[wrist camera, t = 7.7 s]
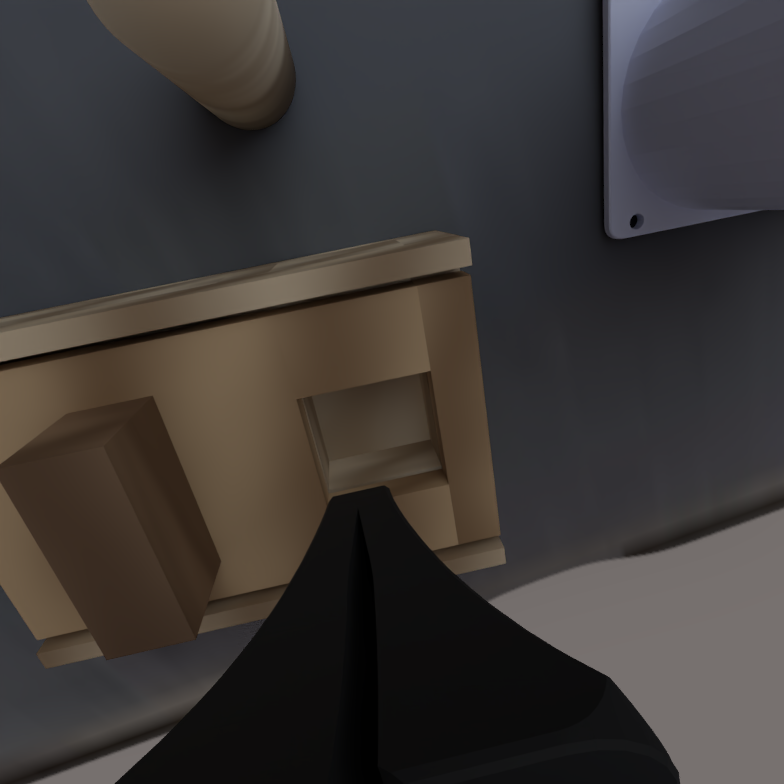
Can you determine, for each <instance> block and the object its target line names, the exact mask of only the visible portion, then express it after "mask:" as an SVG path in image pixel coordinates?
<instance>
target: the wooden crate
mask: <svg viewBox="0 0 784 784" xmlns="http://www.w3.org/2000/svg"><path fill="white" fill-rule="evenodd" d="M471 265H472V259H471V250H470V241H469V238H467V237H463V236H458V235H454V234H449V233H445V232H440V231H436V230H434V231H429V232H424V233H419V234H414V235H409V236H404V237H399V238H394V239H389V240H384V241H379V242H374V243H369V244H365V245H360V246H355V247H350V248H345V249H340V250H335V251H330V252H325V253H320V254H315V255H310V256H305V257H300V258H295V259H290V260H285V261H280V262H275V263H270V264H265V265H260V266H255V267H250V268H245V269H240V270H235V271H230V272H225V273H220V274H215V275H210V276H206V277H201V278H196V279H191V280H186V281H181V282H176V283H171V284H166V285H161V286H156V287H151V288H146V289H141V290H136V291H131V292H126V293H121V294H116V295H111V296H106V297H101V298H96V299H91V300H86V301H81V302H76V303H71V304H66V305H61V306H56V307H51V308H47V309H42V310H37V311H32V312H27V313H22V314H17V315H12V316H7V317H2V318H0V365H3V364H8V363H12V362H17V361H22V360H27V359H32V358H37V357H42V356H47V355H51V354H56V353H61V352H66V351H71V350H76V349H81V348H86V347H91V346H95V345H100V344H105V343H110V342H115V341H120V340H125V339H130V338H134V337H139V336H144V335H149V334H154V333H159V332H164V331H169V330H173V329H178V328H183V327H188V326H193V325H198V324H203V323H208V322H213V321H217V320H222V319H227V318H232V317H237V316H242V315H247V314H252V313H256V312H261V311H266V310H271V309H276V308H281V307H286V306H291V305H296V304H300V303H305V302H310V301H315V300H320V299H325V298H330V297H335V296H339V295H344V294H349V293H354V292H359V291H364V290H369V289H374V288H378V287H383V286H388V285H393V284H398V283H403V282H408V281H413V280H418V279H422V278H427V277H432V276H437V275H442V274H447V273H452V272H457V271H460V268H461V267H466V266H471ZM302 401H303V404H304V408H305V411H306V415H307V418H308V422H309V426H310V429H311V433H312V436H313V440H314V443H315V447H316V451H317V454H318V458H319V461H320V465H321V468H322V472H323V475H324V479H325V483H326V486H327V490H328V493H334V492H338V491H343V490H348V489H352V488H357V487H361V486H366V485H370V484H375V483H379V482H384V481H388V480H393V479H397V478H402V477H407V476H411V475H416V474H420V473H425V472H429V471H434V470H438V469H442V463H441V457H440V451H439V445H438V439H437V433H436V427H435V421H434V414H433V408H432V402H431V396H430V390H429V384H428V378H427V372H423V373H418V374H413V375H409V376H404V377H399V378H394V379H390V380H385V381H380V382H376V383H371V384H366V385H361V386H357V387H352V388H347V389H343V390H338V391H333V392H329V393H324V394H319V395H314V396H310V397H305V398H302ZM433 552H434V553H435V555H436V556H437V557H438V558H439V559H440V560H441V561H442V562H443V563H444V564H445V565H446V566H447V567H448V568H449V569H450V570H451V571H452V572H453V573H454V574H455V575H457V574H462V573H466V572H470V571H475V570H479V569H483V568H488V567H492V566H496V565H501V564H505V563H506V559H505V550H504V546H503V544H502V542H501V540H500V538H499V536H494V537H490V538H486V539H481V540H477V541H472V542H468V543H463V544H459V545H455V546H450V547H446V548H441V549H437V550H433ZM288 584H289V583H287V584H283V585H278V586H274V587H269V588H265V589H261V590H256V591H252V592H247V593H243V594H239V595H234V596H230V597H225V598H221V599H217V600H212V601H208V604H207V607H206V610H205V613H204V616H203V619H202V622H201V626H200V629H199V632H198V634H200V633H204V632H208V631H213V630H217V629H221V628H226V627H230V626H235V625H239V624H243V623H248V622H252V621H256V620H261V619H265V618H267V617H268V616H269V615H270V613H271V612H272V610H273V609H274V607H275V606H276V604H277V602H278V601H279V599H280V598H281V596H282V595H283V593H284V591H285V590H286V588H287V586H288ZM36 655H37V656H38V658H39V659H40V661H41V662H42V664H43V665H44V667H45V668H46V669H47V668H51V667H56V666H60V665H64V664H69V663H73V662H77V661H82V660H86V659H91V658H95V657H99V656H104V655H103V653H102V652H101V650H100V648H99V647H98V645H97V643H96V642H95V640H94V638H93V637H92V635H91V633H90V632H89V630H88V629H84V630H80V631H75V632H71V633H67V634H62V635H58V636H53V637H49V638H47V639H46V640H45V642H44V643H43V645H42V646H41V648H40V649H39V651H38V652H37V654H36Z"/></svg>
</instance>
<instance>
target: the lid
mask: <svg viewBox="0 0 784 784" xmlns="http://www.w3.org/2000/svg"><path fill="white" fill-rule="evenodd" d="M423 372H427V378H428V384H429V390H430V396H431V402H432V408H433V414H434V421H435V427H436V433H437V439H438V445H439V451H440V457H441V463H442V469H438V470H434V471H429V472H425V473H420V474H416V475H411V476H407V477H402V478H397V479H393V480H388V481H384V482H379V483H375V484H370V485H366V486H361V487H357V488H352V489H348V490H343V491H338V492H334V493H328V490H327V486H326V483H325V479H324V475H323V472H322V468H321V465H320V461H319V458H318V454H317V451H316V447H315V443H314V440H313V436H312V433H311V429H310V426H309V422H308V418H307V415H306V411H305V408H304V404H303V401H302V398H305V397H310V396H314V395H319V394H324V393H329V392H333V391H338V390H343V389H347V388H352V387H357V386H361V385H366V384H371V383H376V382H380V381H385V380H390V379H394V378H399V377H404V376H409V375H413V374H418V373H423ZM383 485H385V486H386V487H388V488H390V492H391V494H392V496H393V499H394V500H395V502H396V504H397V506H398V507H399V509H400V511H401V512H402V514H403V515H404V517H405V518H406V519H407V521H408V522H409V524H410V525H411V526H412V527H413V529H414V530H415V531H416V532H417V534H418V535H419V536H420V538H421V539H422V540H423V541H424V542H425V543H426V545H427V546H428V547H429V548H430V549H431V550H432V551H433V550H437V549H441V548H446V547H450V546H455V545H459V544H463V543H468V542H472V541H477V540H481V539H486V538H490V537H494V536H499V535H500V526H499V517H498V509H497V500H496V491H495V483H494V474H493V465H492V457H491V448H490V439H489V431H488V422H487V413H486V405H485V396H484V387H483V379H482V370H481V361H480V353H479V344H478V335H477V327H476V318H475V309H474V301H473V292H472V283H471V275H469V274H467V273H465V272H463V271H457V272H452V273H447V274H442V275H437V276H432V277H427V278H422V279H418V280H413V281H408V282H403V283H398V284H393V285H388V286H383V287H378V288H374V289H369V290H364V291H359V292H354V293H349V294H344V295H339V296H335V297H330V298H325V299H320V300H315V301H310V302H305V303H300V304H296V305H291V306H286V307H281V308H276V309H271V310H266V311H261V312H256V313H252V314H247V315H242V316H237V317H232V318H227V319H222V320H217V321H213V322H208V323H203V324H198V325H193V326H188V327H183V328H178V329H173V330H169V331H164V332H159V333H154V334H149V335H144V336H139V337H134V338H130V339H125V340H120V341H115V342H110V343H105V344H100V345H95V346H91V347H86V348H81V349H76V350H71V351H66V352H61V353H56V354H51V355H47V356H42V357H37V358H32V359H27V360H22V361H17V362H12V363H8V364H3V365H0V585H1V586H2V588H3V589H4V591H5V592H6V594H7V595H8V597H9V598H10V600H11V601H12V603H13V604H14V606H15V607H16V609H17V610H18V612H19V613H20V615H21V616H22V618H23V619H24V621H25V623H26V624H27V626H28V627H29V629H30V630H31V632H32V633H33V635H34V636H35V638H36V639H37V640H40V639H45V638H49V637H53V636H58V635H62V634H67V633H71V632H75V631H80V630H84V629H88V630H89V632H90V633H91V635H92V637H93V638H94V640H95V642H96V643H97V645H98V647H99V648H100V650H101V652H102V653H103V655H104V657H105V658H106V660H109V659H113V658H118V657H122V656H126V655H131V654H135V653H140V652H144V651H148V650H153V649H157V648H161V647H166V646H170V645H174V644H179V643H183V642H187V641H192V640H196V638H197V635H198V632H199V629H200V626H201V622H202V619H203V616H204V613H205V610H206V607H207V604H208V601H212V600H217V599H221V598H225V597H230V596H234V595H239V594H243V593H247V592H252V591H256V590H261V589H265V588H269V587H274V586H278V585H283V584H287V583H290V581H291V579H292V577H293V576H294V574H295V572H296V571H297V569H298V567H299V565H300V564H301V562H302V560H303V558H304V556H305V554H306V552H307V550H308V548H309V546H310V544H311V542H312V540H313V538H314V536H315V534H316V531H317V529H318V527H319V525H320V523H321V520H322V518H323V515H324V513H325V511H326V508H327V505H328V503H329V501H330V500H331V498H332V497H333V496H338V495H342V494H347V493H351V492H356V491H360V490H365V489H369V488H374V487H378V486H383Z"/></svg>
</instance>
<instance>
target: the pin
mask: <svg viewBox="0 0 784 784" xmlns="http://www.w3.org/2000/svg"><path fill="white" fill-rule="evenodd" d="M87 2H88V3H89V5H90V6H91V8H92V9H93V11H94V13H95V14H96V16H97V17H98V18H99V19H100V21H101V22H102V23H103V24H104V26H105V27H106V28H107V29H108V30H109V31H110V32H111V33H112V34H113V35H114V36H115V37H116V38H117V39H118V40H119V41H121V42H122V43H123V44H124V45H125V46H127V47H128V48H129V49H130V50H132V51H133V52H134V53H136V54H137V55H138V56H139V57H141V58H142V59H143V60H145V61H146V62H147V63H148V64H150V65H151V66H152V67H154V68H155V69H156V70H157V71H159V72H160V73H161V74H163V75H164V76H165V77H166V78H168V79H169V80H170V81H172V82H173V83H174V84H175V85H177V86H178V87H179V88H181V89H182V90H183V91H184V92H186V93H187V94H188V95H190V96H191V97H192V98H193V99H195V100H196V101H197V102H199V103H200V104H201V105H202V106H204V107H205V108H206V109H208V110H209V111H210V112H211V113H213V114H214V115H215V116H217V117H218V118H219V119H220V120H222V121H224V122H225V123H227V124H229V125H231V126H233V127H236V128H239V129H243V130H259V129H263V128H266V127H268V126H271V125H272V124H274V123H276V122H277V121H278V120H279V119H280V118H281V117H282V116H283V115H284V114H285V113H286V111H287V109H288V108H289V106H290V104H291V102H292V99H293V96H294V91H295V83H296V77H295V67H294V63H293V59H292V55H291V52H290V48H289V45H288V41H287V38H286V34H285V31H284V27H283V24H282V20H281V17H280V13H279V9H278V6H277V2H276V0H87Z"/></svg>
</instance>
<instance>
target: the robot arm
mask: <svg viewBox="0 0 784 784" xmlns="http://www.w3.org/2000/svg"><path fill="white" fill-rule="evenodd" d="M603 114H604V228H605V232H606V234H607V235H608V236H609V237H611V238H613V239H625V238H630V237H635V236H639V235H644V234H649V233H654V232H659V231H664V230H669V229H674V228H678V227H683V226H688V225H693V224H698V223H703V222H708V221H713V220H718V219H722V218H727V217H732V216H737V215H742V214H747V213H752V212H757V211H761V210H784V0H603ZM633 215H636V216H637V224H636V225H635V226H634V227H633V228H631V227H630V219H631V218H632V216H633ZM115 784H680V779H679V772H678V770H677V769H676V767H675V766H674V764H673V762H672V761H671V759H670V756H669V754H668V753H667V751H666V750H665V748H664V746H663V745H662V743H661V742H660V740H659V739H658V737H657V736H656V735H655V733H654V732H653V731H652V729H651V728H650V727H649V725H648V724H647V723H646V721H645V720H644V719H643V717H642V716H641V715H640V713H639V712H638V711H637V710H636V708H635V707H634V706H633V705H632V703H631V702H630V701H629V700H628V698H627V697H626V696H625V695H624V694H623V693H622V691H621V690H620V689H619V688H618V687H617V685H616V684H615V683H614V682H613V681H612V680H611V679H610V678H609V677H608V676H606V675H604V674H602V673H600V672H599V671H596V670H595V669H593V668H591V667H589V666H587V665H585V664H583V663H582V662H579V661H578V660H576V659H574V658H572V657H570V656H568V655H567V654H565V653H563V652H561V651H560V650H558V649H556V648H554V647H553V646H551V645H550V644H548V643H547V642H545V641H543V640H542V639H540V638H539V637H537V636H535V635H534V634H532V633H530V632H529V631H527V630H526V629H524V628H523V627H522V626H520V625H519V624H517V623H516V622H515V621H513V620H512V619H510V618H509V617H508V616H506V615H505V614H503V613H502V612H501V611H499V610H498V609H496V608H495V607H494V606H492V605H491V604H489V603H488V602H487V601H486V600H484V599H483V598H482V597H481V596H480V595H478V594H477V593H476V592H475V591H473V590H472V589H471V588H470V587H469V586H468V585H466V584H465V583H464V582H463V581H462V580H461V579H460V578H459V577H458V576H456V575H455V574H454V573H453V572H452V571H451V570H450V569H449V568H448V567H447V566H446V565H445V564H444V563H443V562H442V561H441V560H440V559H439V558H438V557H437V556H436V555H435V553H434V552H433V551H432V550H431V549H430V548H429V547H428V546H427V545H426V543H425V542H424V541H423V540H422V539H421V538H420V536H419V535H418V534H417V532H416V531H415V530H414V529H413V527H412V526H411V525H410V524H409V522H408V521H407V519H406V518H405V517H404V515H403V514H402V512H401V511H400V509H399V507H398V506H397V504H396V502H395V500H394V499H393V496H392V494H391V492H390V488H388V487H386V486H385V485H383V486H378V487H374V488H369V489H365V490H360V491H356V492H351V493H347V494H342V495H338V496H333V497H332V498H331V500H330V501H329V503H328V505H327V508H326V511H325V513H324V515H323V518H322V520H321V523H320V525H319V527H318V529H317V531H316V534H315V536H314V538H313V540H312V542H311V544H310V546H309V548H308V550H307V552H306V554H305V556H304V558H303V560H302V562H301V564H300V565H299V567H298V569H297V571H296V572H295V574H294V576H293V577H292V579H291V581H290V583H289V584H288V586H287V588H286V590H285V591H284V593H283V595H282V596H281V598H280V599H279V601H278V602H277V604H276V606H275V607H274V609H273V610H272V612H271V613H270V615H269V616H268V617H267V619H266V620H265V622H264V623H263V625H262V626H261V627H260V629H259V630H258V632H257V633H256V634H255V636H254V637H253V638H252V640H251V641H250V642H249V643H248V645H247V646H246V647H245V649H244V650H243V651H242V652H241V654H240V655H239V656H238V657H237V658H236V660H235V661H234V662H233V663H232V665H231V666H230V667H229V668H228V669H227V671H226V672H225V673H224V674H223V675H222V677H221V678H220V679H219V680H218V681H217V682H216V684H215V685H214V686H213V687H212V688H211V689H210V690H209V691H208V692H207V693H206V694H205V696H204V697H203V698H202V699H201V700H200V701H199V702H198V703H197V704H196V705H195V706H194V707H193V708H192V709H191V711H190V712H189V713H188V714H187V715H186V716H185V717H184V718H183V719H182V720H181V721H180V722H179V723H178V724H177V725H176V726H175V727H174V728H173V729H172V730H171V731H170V732H169V733H168V734H167V735H166V736H165V737H164V738H163V739H162V740H161V741H160V742H159V743H158V744H157V745H156V746H155V747H153V748H152V749H151V750H150V751H149V752H148V753H147V754H146V755H145V756H144V757H143V758H142V759H141V760H140V761H138V762H137V763H136V764H135V765H134V766H133V767H132V768H131V769H130V770H129V771H128V772H127V773H125V775H123V776H122V777H121V778H120V779H119V780H118V781H117V782H116V783H115Z"/></svg>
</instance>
